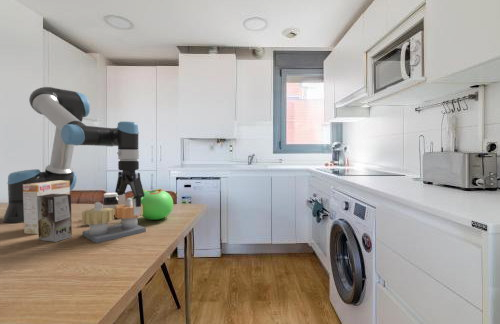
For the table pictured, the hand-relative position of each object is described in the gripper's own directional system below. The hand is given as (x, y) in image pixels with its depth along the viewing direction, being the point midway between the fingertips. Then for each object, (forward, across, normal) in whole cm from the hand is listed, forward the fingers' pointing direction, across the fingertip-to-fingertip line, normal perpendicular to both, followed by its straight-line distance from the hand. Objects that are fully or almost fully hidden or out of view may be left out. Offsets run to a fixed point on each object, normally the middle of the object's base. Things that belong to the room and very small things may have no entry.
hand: (129, 212), depth 106 cm
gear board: (+7, 0, -6) cm, 9 cm away
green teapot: (+7, -9, +16) cm, 20 cm away
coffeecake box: (+8, -28, -21) cm, 36 cm away
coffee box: (+7, -10, -22) cm, 26 cm away
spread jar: (+8, -28, +6) cm, 30 cm away
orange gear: (+1, 0, 0) cm, 1 cm away
